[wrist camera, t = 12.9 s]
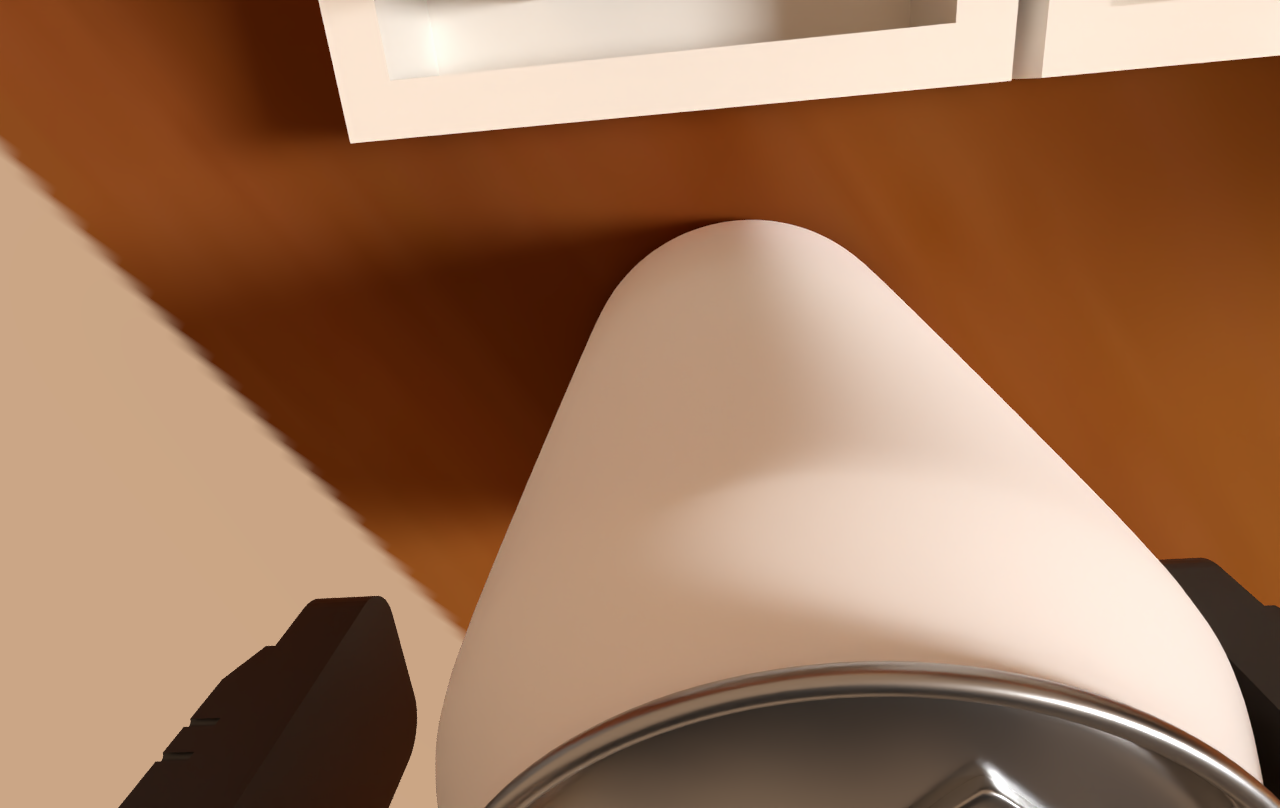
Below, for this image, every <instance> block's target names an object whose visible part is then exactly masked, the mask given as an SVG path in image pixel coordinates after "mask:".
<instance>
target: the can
mask: <svg viewBox="0 0 1280 808" xmlns="http://www.w3.org/2000/svg"><path fill="white" fill-rule="evenodd" d="M436 793H437V803H438V808H1280V800H1279V799H1278V798H1277V797H1276V796H1275V795H1274V794H1273V793H1272V792H1271V791H1270V790H1268V789H1267V788H1266V787H1265V786H1264V784H1263V779H1262V774H1261V769H1260V763H1259V758H1258V754H1257V749H1256V744H1255V739H1254V735H1253V731H1252V727H1251V723H1250V719H1249V716H1248V712H1247V708H1246V705H1245V701H1244V698H1243V696H1242V693H1241V690H1240V687H1239V685H1238V682H1237V679H1236V677H1235V674H1234V671H1233V669H1232V667H1231V664H1230V662H1229V660H1228V658H1227V655H1226V653H1225V651H1224V649H1223V648H1222V646H1221V644H1220V642H1219V640H1218V638H1217V637H1216V635H1215V634H1214V632H1213V630H1212V629H1211V627H1210V626H1209V624H1208V623H1207V621H1206V620H1205V618H1204V617H1203V616H1202V614H1201V613H1200V612H1199V610H1198V609H1197V607H1196V606H1195V605H1194V603H1193V602H1192V601H1191V599H1190V598H1189V597H1188V595H1187V594H1186V593H1185V591H1184V590H1183V589H1182V587H1181V586H1180V585H1179V583H1178V582H1177V581H1176V580H1175V579H1174V577H1173V576H1172V575H1171V574H1170V573H1169V571H1168V570H1167V569H1166V568H1165V567H1164V566H1163V565H1162V564H1161V562H1160V561H1159V560H1158V559H1157V558H1156V557H1155V556H1154V555H1153V554H1152V553H1151V552H1150V551H1149V549H1148V548H1147V547H1146V546H1145V545H1144V544H1143V543H1142V542H1141V541H1140V540H1139V539H1138V537H1137V536H1136V535H1135V534H1134V533H1133V532H1132V531H1131V530H1130V529H1129V528H1128V527H1127V526H1126V524H1125V523H1124V522H1123V521H1122V520H1121V519H1120V518H1119V517H1118V516H1117V515H1116V514H1115V513H1114V512H1113V511H1112V510H1111V509H1110V508H1109V507H1108V506H1107V505H1106V504H1105V503H1104V502H1103V501H1102V500H1101V499H1100V498H1099V497H1098V495H1097V494H1096V493H1095V492H1094V491H1093V490H1092V489H1091V488H1090V487H1089V486H1088V485H1087V484H1086V483H1085V482H1084V481H1083V480H1082V479H1081V478H1080V477H1079V476H1078V475H1077V474H1076V473H1075V472H1074V471H1073V470H1072V469H1071V468H1070V467H1069V466H1068V465H1067V464H1066V463H1065V462H1064V461H1063V460H1062V459H1061V458H1060V457H1059V456H1058V455H1057V454H1056V453H1055V452H1054V451H1053V450H1052V449H1051V448H1050V447H1049V446H1048V445H1047V444H1046V443H1045V442H1044V441H1043V440H1042V439H1041V438H1040V437H1039V436H1038V435H1037V434H1036V433H1035V432H1034V431H1033V430H1032V429H1031V428H1030V427H1029V426H1028V425H1027V424H1026V422H1025V421H1024V420H1023V419H1022V418H1021V417H1020V416H1019V415H1018V414H1017V413H1016V412H1015V411H1014V410H1013V409H1012V408H1011V407H1010V406H1009V405H1008V404H1007V403H1006V402H1005V401H1004V400H1003V399H1002V398H1001V397H1000V396H999V395H998V394H997V393H996V392H995V391H994V390H993V389H992V388H991V387H990V386H989V385H988V384H987V383H986V382H985V381H984V380H983V379H982V378H981V377H980V376H979V375H978V374H977V373H976V372H975V371H974V370H972V369H971V368H970V367H969V366H968V365H967V364H966V363H965V362H964V361H963V360H962V359H961V358H960V357H959V356H958V355H957V354H956V353H955V352H954V351H953V350H952V349H951V348H950V347H949V346H948V345H947V344H946V343H945V342H944V341H943V340H942V339H941V338H940V337H939V336H938V335H937V334H936V333H935V332H934V331H933V330H932V329H931V328H930V327H929V326H928V325H927V324H926V323H925V322H924V321H923V320H922V319H921V318H920V317H919V316H918V315H917V314H916V313H915V312H914V311H913V310H912V309H911V308H910V307H909V306H908V305H907V304H906V303H905V302H904V301H903V300H902V299H901V298H900V297H899V296H898V295H896V294H895V293H894V292H893V291H892V290H891V289H890V288H889V287H888V286H887V285H886V284H885V283H884V282H883V281H882V280H881V279H880V278H879V277H878V276H877V275H876V274H875V273H874V272H872V271H871V270H870V269H869V268H868V267H867V266H866V265H865V264H864V263H862V262H861V261H860V260H859V259H858V258H857V257H855V256H854V255H853V254H852V253H850V252H849V251H848V250H846V249H845V248H843V247H842V246H840V245H838V244H837V243H835V242H833V241H832V240H830V239H828V238H826V237H824V236H822V235H820V234H817V233H815V232H813V231H810V230H807V229H804V228H801V227H798V226H795V225H790V224H786V223H781V222H775V221H766V220H737V221H728V222H722V223H717V224H712V225H708V226H705V227H701V228H698V229H695V230H692V231H690V232H687V233H685V234H683V235H680V236H678V237H676V238H674V239H672V240H670V241H669V242H667V243H665V244H663V245H662V246H660V247H659V248H657V249H656V250H654V251H653V252H651V253H650V254H649V255H648V256H646V257H645V258H644V259H643V260H641V261H640V262H639V263H638V264H637V265H636V266H635V267H634V268H633V269H632V270H631V271H630V272H629V273H628V274H627V275H626V276H625V278H624V279H623V280H622V281H621V282H620V284H619V285H618V286H617V287H616V289H615V290H614V292H613V293H612V295H611V296H610V298H609V299H608V301H607V303H606V305H605V306H604V308H603V310H602V312H601V314H600V316H599V318H598V320H597V322H596V324H595V327H594V329H593V331H592V333H591V335H590V338H589V340H588V342H587V344H586V347H585V349H584V351H583V354H582V356H581V358H580V360H579V363H578V365H577V367H576V370H575V372H574V374H573V377H572V379H571V381H570V384H569V386H568V388H567V391H566V393H565V395H564V398H563V400H562V402H561V405H560V407H559V409H558V412H557V414H556V416H555V419H554V421H553V423H552V426H551V428H550V430H549V433H548V435H547V438H546V440H545V442H544V445H543V447H542V449H541V452H540V454H539V456H538V459H537V461H536V463H535V466H534V468H533V471H532V473H531V475H530V478H529V480H528V482H527V485H526V487H525V490H524V492H523V494H522V497H521V499H520V502H519V504H518V506H517V509H516V511H515V514H514V516H513V518H512V521H511V523H510V525H509V528H508V530H507V533H506V535H505V537H504V540H503V542H502V545H501V547H500V549H499V552H498V554H497V557H496V559H495V562H494V564H493V567H492V569H491V572H490V574H489V576H488V579H487V581H486V584H485V586H484V589H483V591H482V594H481V596H480V599H479V601H478V603H477V606H476V608H475V611H474V613H473V616H472V619H471V622H470V624H469V627H468V630H467V632H466V635H465V638H464V640H463V643H462V646H461V648H460V651H459V654H458V657H457V659H456V662H455V665H454V668H453V671H452V674H451V678H450V681H449V685H448V688H447V692H446V696H445V700H444V704H443V708H442V712H441V717H440V721H439V727H438V734H437V744H436Z"/></svg>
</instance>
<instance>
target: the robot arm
mask: <svg viewBox="0 0 1280 808" xmlns="http://www.w3.org/2000/svg"><path fill="white" fill-rule="evenodd" d="M1159 561H1160V562H1161V564H1162V565H1163V566H1164V567H1165V568H1166V569H1167V570H1168V571H1169V573H1170V574H1171V575H1172V576H1173V577H1174V579H1175V580H1176V581H1177V582H1178V583H1179V585H1180V586H1181V587H1182V589H1183V590H1184V591H1185V593H1186V594H1187V595H1188V597H1189V598H1190V599H1191V601H1192V602H1193V603H1194V605H1195V606H1196V607H1197V609H1198V610H1199V612H1200V613H1201V614H1202V616H1203V617H1204V618H1205V620H1206V621H1207V623H1208V624H1209V626H1210V627H1211V629H1212V630H1213V632H1214V634H1215V635H1216V637H1217V638H1218V640H1219V642H1220V644H1221V646H1222V648H1223V649H1224V651H1225V653H1226V655H1227V658H1228V660H1229V662H1230V664H1231V667H1232V669H1233V671H1234V674H1235V677H1236V679H1237V682H1238V685H1239V687H1240V690H1241V693H1242V696H1243V698H1244V701H1245V705H1246V708H1247V712H1248V716H1249V719H1250V723H1251V727H1252V731H1253V735H1254V739H1255V744H1256V749H1257V754H1258V758H1259V763H1260V769H1261V774H1262V779H1263V784H1264V786H1265V787H1266V788H1267V789H1268V790H1270V791H1271V792H1272V793H1273V794H1274V795H1275V796H1276V797H1277V798H1278V799H1279V800H1280V608H1279V607H1277V606H1275V605H1272V606H1264V605H1263V604H1262V603H1260V602H1259V601H1258V600H1257V599H1256V598H1255V597H1254V596H1252V595H1251V594H1250V593H1249V592H1248V591H1247V590H1246V589H1244V588H1243V587H1242V586H1241V585H1240V584H1239V583H1238V582H1237V581H1235V580H1234V579H1233V578H1232V577H1231V576H1230V575H1229V574H1227V573H1226V572H1225V571H1224V570H1223V569H1222V568H1221V567H1219V566H1218V565H1217V564H1215V563H1214V562H1212V561H1210V560H1208V559H1205V558H1187V559H1166V560H1159ZM190 720H191V723H190V726H189V727H183V729H182V730H181V731H180V732H179V734H178V735H177V736H176V737H175V739H174V740H173V741H172V742H171V743H170V745H169V746H168V747H167V748H166V750H165V751H164V752H163V759H162V761H161V762H155V763H154V765H153V766H152V767H151V768H150V769H149V771H148V772H147V773H146V774H145V775H144V777H143V778H142V779H141V780H140V782H139V783H138V784H137V785H136V787H135V788H134V789H133V790H132V792H131V793H130V794H129V795H128V797H127V798H126V799H125V800H124V801H123V803H122V804H121V805H120V806H119V808H389V805H390V803H391V801H392V799H393V796H394V794H395V791H396V789H397V787H398V784H399V782H400V780H401V777H402V775H403V773H404V770H405V768H406V766H407V763H408V761H409V759H410V756H411V753H412V749H413V746H414V741H415V735H416V726H417V708H416V700H415V696H414V692H413V688H412V685H411V681H410V677H409V674H408V670H407V666H406V663H405V659H404V656H403V652H402V648H401V644H400V640H399V637H398V633H397V629H396V626H395V623H394V619H393V615H392V612H391V609H390V606H389V605H388V603H387V601H386V600H385V599H384V598H382V597H380V596H368V597H347V598H326V599H315V600H313V601H311V602H310V603H308V604H307V606H306V607H305V608H304V609H303V610H302V612H301V613H300V614H299V616H298V617H297V618H296V619H295V621H294V622H293V623H292V625H291V626H290V627H289V629H288V630H287V631H286V633H285V634H284V635H283V637H282V638H281V639H280V641H279V642H278V643H277V644H276V646H266V647H264V648H263V649H262V650H260V651H259V652H258V653H256V654H255V655H254V656H252V657H251V658H250V659H249V660H247V661H246V662H245V663H243V664H242V665H241V666H239V667H238V668H237V669H235V670H234V671H233V672H231V673H230V674H229V675H228V676H226V677H225V678H224V679H222V681H221V682H220V683H219V684H218V685H217V687H216V688H215V689H214V690H213V692H212V693H211V694H210V695H209V696H208V698H207V699H206V700H205V702H204V703H203V704H202V705H201V706H200V708H199V709H198V710H197V711H196V713H195V714H194V715H193V716H192V718H191V719H190Z"/></svg>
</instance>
